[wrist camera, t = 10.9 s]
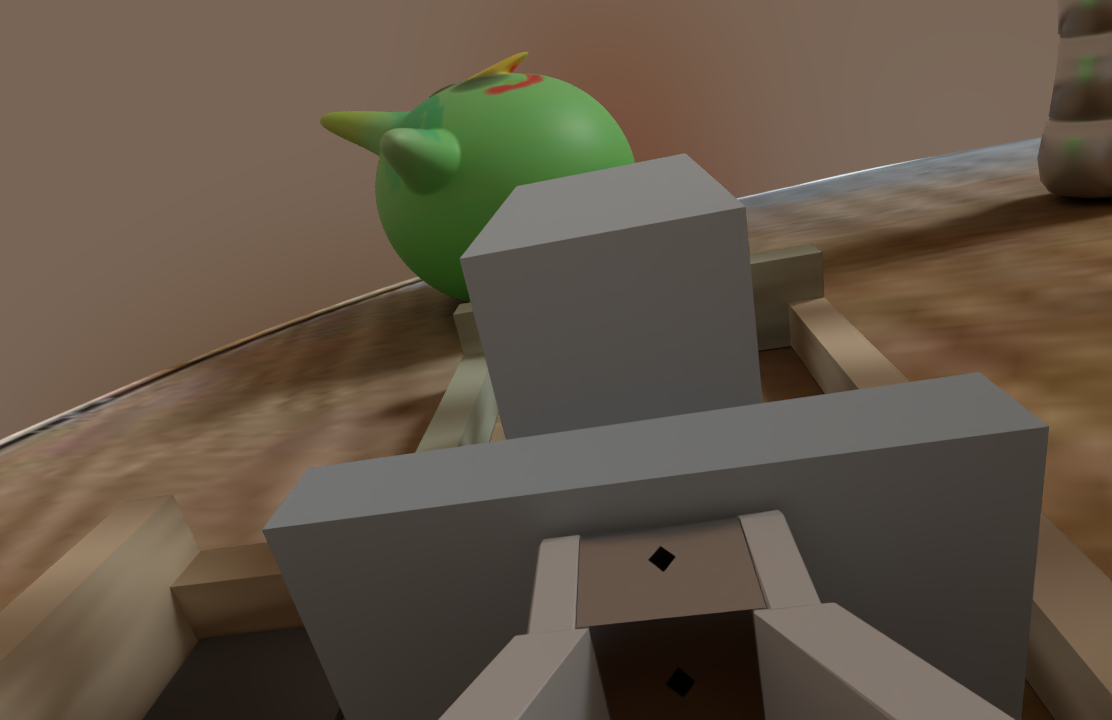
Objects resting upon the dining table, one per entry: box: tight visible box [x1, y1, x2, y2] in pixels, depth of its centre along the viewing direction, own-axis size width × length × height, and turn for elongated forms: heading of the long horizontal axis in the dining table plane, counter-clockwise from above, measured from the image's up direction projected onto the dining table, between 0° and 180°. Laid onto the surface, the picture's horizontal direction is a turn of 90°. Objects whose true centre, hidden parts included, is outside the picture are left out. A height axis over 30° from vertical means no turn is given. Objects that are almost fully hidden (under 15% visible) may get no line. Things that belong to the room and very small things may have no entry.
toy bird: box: [320, 52, 635, 302], centre depth 42 cm, size 18×17×15 cm
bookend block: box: [262, 154, 1049, 720], centre depth 17 cm, size 18×10×10 cm, turn 177°
